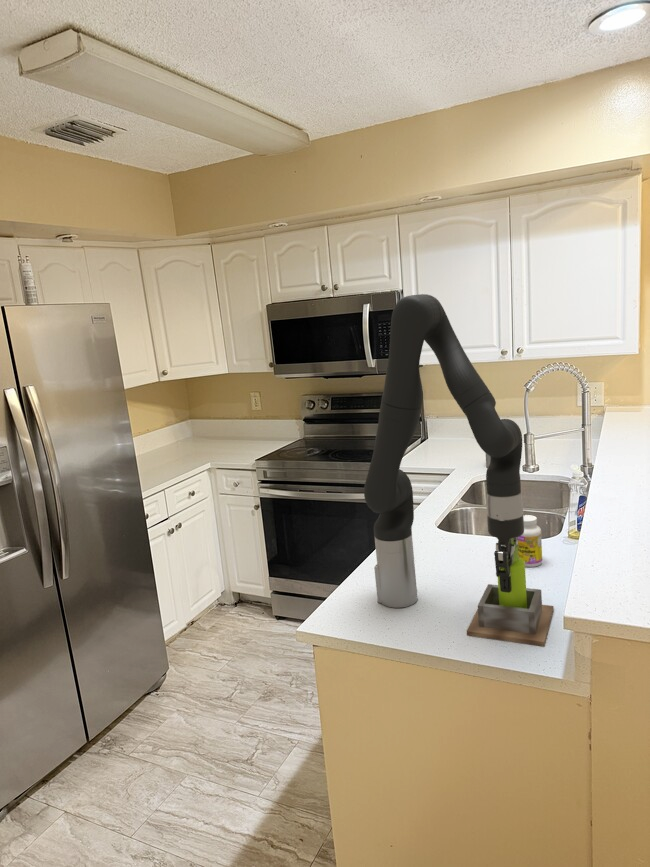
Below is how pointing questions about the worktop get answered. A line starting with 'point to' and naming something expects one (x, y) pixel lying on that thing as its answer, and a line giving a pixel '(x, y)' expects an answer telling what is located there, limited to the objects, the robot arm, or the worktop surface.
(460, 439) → the worktop surface
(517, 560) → the soap dispenser
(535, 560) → the supplement bottle
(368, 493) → the robot arm
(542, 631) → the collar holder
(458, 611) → the worktop surface
